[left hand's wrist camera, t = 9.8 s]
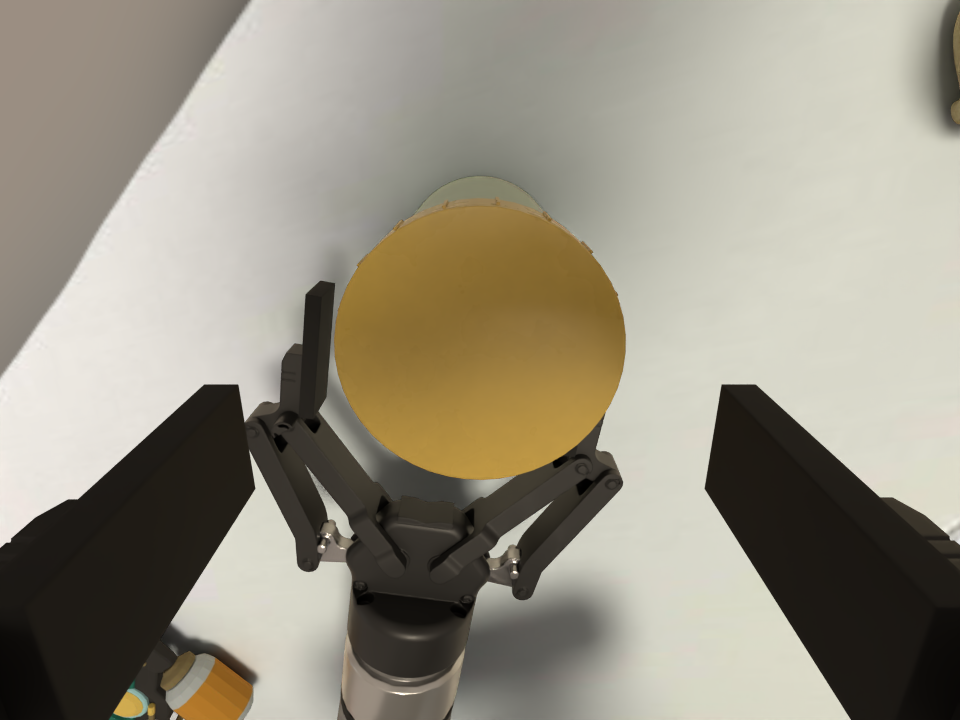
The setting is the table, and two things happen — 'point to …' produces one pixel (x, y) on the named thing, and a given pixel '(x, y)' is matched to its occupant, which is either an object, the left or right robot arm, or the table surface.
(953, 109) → the sculpture
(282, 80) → the table surface
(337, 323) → the lid
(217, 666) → the spray gun
